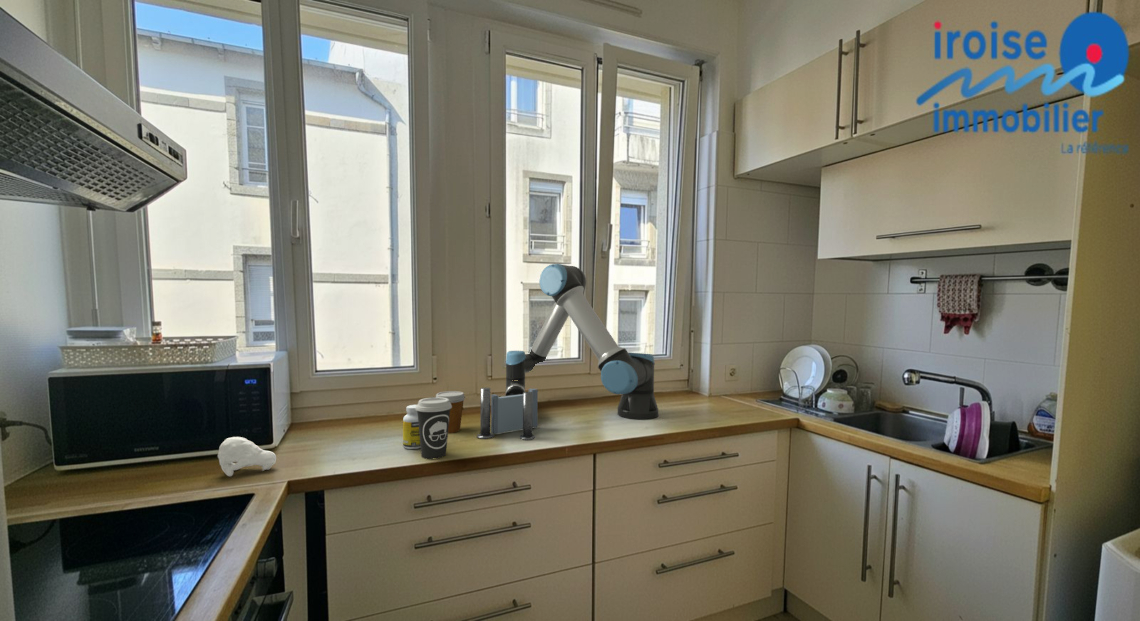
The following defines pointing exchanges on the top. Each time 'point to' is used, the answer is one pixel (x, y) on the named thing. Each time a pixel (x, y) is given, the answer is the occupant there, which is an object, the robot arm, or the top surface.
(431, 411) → the coffee cup
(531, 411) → the post
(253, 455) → the white lumpy piece
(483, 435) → the hinge post
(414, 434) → the pill bottle
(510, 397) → the gate
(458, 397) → the disposable coffee cup
